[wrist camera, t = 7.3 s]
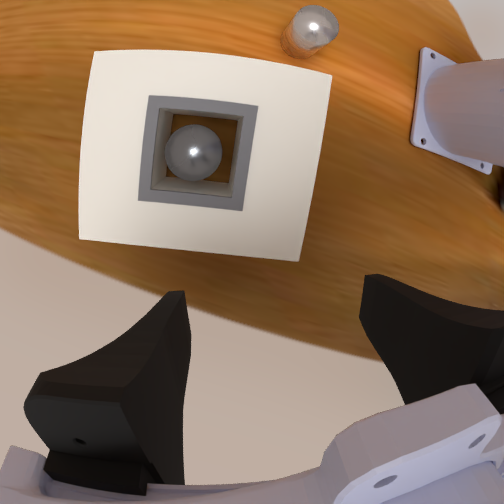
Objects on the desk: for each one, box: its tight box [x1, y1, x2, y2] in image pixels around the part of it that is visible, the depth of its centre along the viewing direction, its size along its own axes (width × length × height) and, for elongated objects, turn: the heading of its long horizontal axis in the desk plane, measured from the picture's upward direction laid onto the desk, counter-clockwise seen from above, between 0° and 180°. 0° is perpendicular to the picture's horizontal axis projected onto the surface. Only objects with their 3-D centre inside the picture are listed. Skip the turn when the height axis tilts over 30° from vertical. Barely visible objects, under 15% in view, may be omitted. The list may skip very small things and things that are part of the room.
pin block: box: [79, 50, 332, 262], centre depth 16 cm, size 12×10×5 cm
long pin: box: [165, 125, 222, 181], centre depth 15 cm, size 2×2×6 cm
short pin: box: [280, 5, 339, 59], centre depth 14 cm, size 2×2×4 cm
